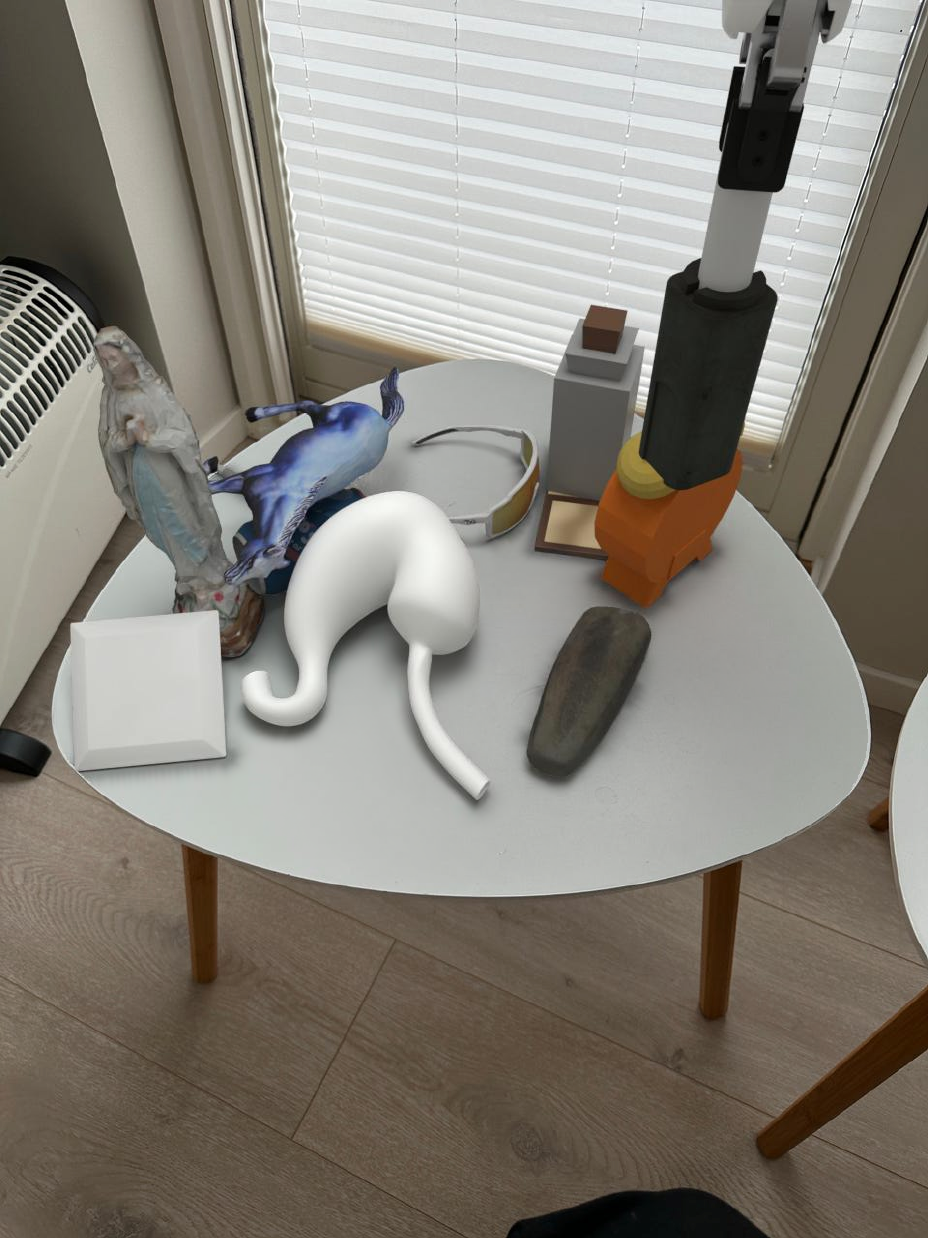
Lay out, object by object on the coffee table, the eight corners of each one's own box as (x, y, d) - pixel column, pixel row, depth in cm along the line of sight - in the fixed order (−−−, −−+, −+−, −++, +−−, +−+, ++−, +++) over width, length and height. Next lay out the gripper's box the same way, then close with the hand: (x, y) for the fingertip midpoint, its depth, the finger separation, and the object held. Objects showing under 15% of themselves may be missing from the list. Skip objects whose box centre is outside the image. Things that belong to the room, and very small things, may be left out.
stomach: (235, 702, 83) (449, 864, 76) (177, 653, 71) (425, 840, 64) (392, 511, 89) (605, 645, 82) (362, 434, 77) (611, 584, 69)
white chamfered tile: (69, 771, 73) (91, 771, 78) (223, 756, 74) (236, 757, 79) (65, 620, 75) (86, 630, 80) (215, 607, 76) (228, 617, 81)
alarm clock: (672, 510, 92) (710, 334, 76) (724, 542, 89) (774, 366, 73) (583, 583, 86) (604, 409, 70) (636, 620, 83) (670, 447, 68)
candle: (631, 448, 64) (696, 40, 44) (694, 426, 65) (784, 20, 45) (674, 495, 61) (763, 80, 41) (738, 470, 62) (855, 57, 42)
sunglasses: (521, 555, 88) (515, 516, 84) (375, 537, 93) (363, 500, 89) (558, 458, 96) (554, 418, 93) (423, 446, 101) (414, 408, 97)
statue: (164, 649, 82) (36, 361, 59) (197, 586, 86) (90, 296, 63) (244, 663, 81) (146, 376, 57) (274, 599, 85) (194, 308, 62)
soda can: (236, 522, 79) (359, 473, 84) (223, 535, 86) (339, 489, 90) (271, 597, 80) (391, 544, 85) (255, 604, 86) (368, 555, 91)
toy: (125, 512, 79) (229, 558, 69) (344, 326, 90) (459, 344, 81) (172, 576, 84) (274, 626, 75) (373, 392, 95) (484, 416, 86)
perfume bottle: (546, 490, 93) (557, 333, 79) (562, 446, 97) (575, 290, 83) (613, 504, 91) (636, 347, 77) (627, 459, 95) (651, 302, 81)
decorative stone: (585, 614, 84) (589, 583, 81) (654, 638, 82) (661, 607, 79) (508, 766, 74) (509, 739, 71) (584, 797, 72) (589, 770, 69)
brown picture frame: (624, 461, 96) (625, 456, 96) (610, 560, 88) (611, 555, 87) (555, 453, 97) (555, 447, 97) (534, 550, 89) (534, 545, 88)
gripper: (754, -375, 39) (680, 96, 53) (758, -311, 29) (666, 248, 43) (944, -375, 38) (817, 105, 52) (1016, -309, 28) (834, 262, 42)
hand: (749, 166), depth 47 cm, fingers closed on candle, 3 cm apart
